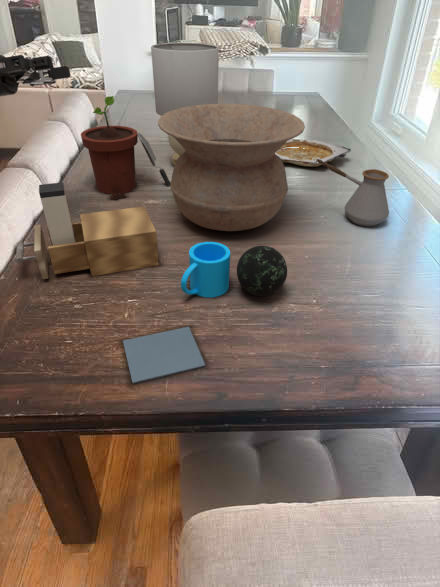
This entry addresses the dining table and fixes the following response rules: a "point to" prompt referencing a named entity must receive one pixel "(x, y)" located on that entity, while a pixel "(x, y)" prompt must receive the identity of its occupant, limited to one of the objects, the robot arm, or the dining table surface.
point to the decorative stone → (261, 270)
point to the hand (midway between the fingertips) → (61, 66)
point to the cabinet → (119, 240)
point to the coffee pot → (366, 197)
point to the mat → (162, 354)
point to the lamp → (184, 79)
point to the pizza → (310, 152)
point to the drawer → (56, 252)
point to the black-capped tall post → (57, 213)
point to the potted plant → (115, 156)
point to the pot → (230, 163)
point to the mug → (207, 270)
